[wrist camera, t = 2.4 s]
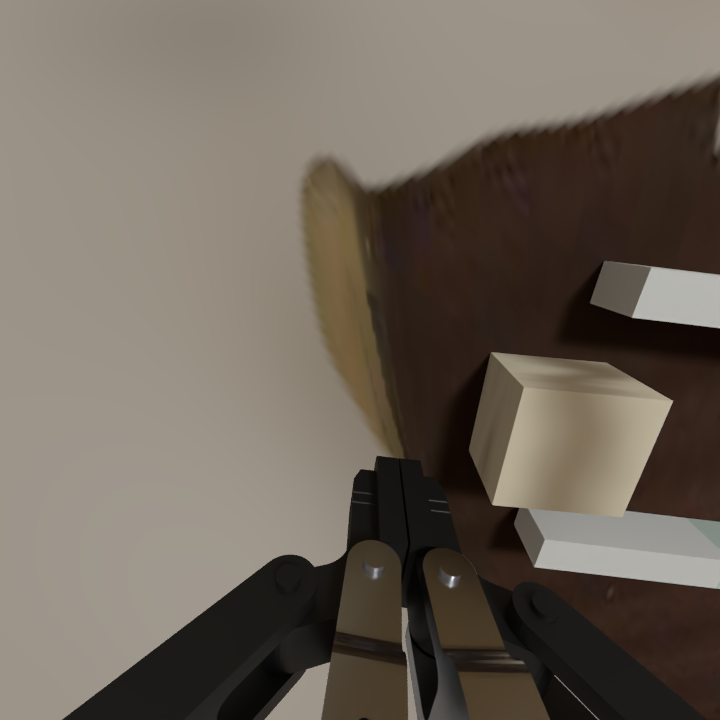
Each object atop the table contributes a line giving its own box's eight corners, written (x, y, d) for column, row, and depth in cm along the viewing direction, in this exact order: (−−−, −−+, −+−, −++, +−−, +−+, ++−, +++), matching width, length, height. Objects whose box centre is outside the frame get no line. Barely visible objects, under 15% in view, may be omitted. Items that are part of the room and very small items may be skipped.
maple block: (604, 361, 18) (672, 401, 14) (571, 458, 21) (622, 517, 16) (489, 351, 18) (523, 387, 14) (468, 448, 21) (492, 505, 16)
